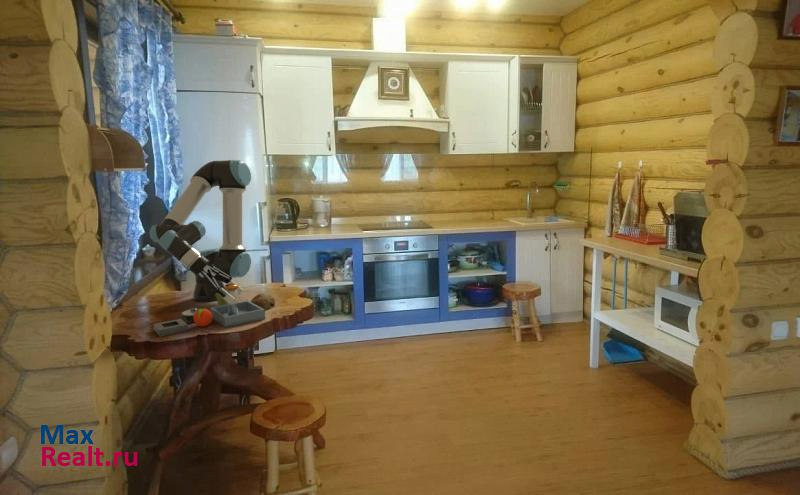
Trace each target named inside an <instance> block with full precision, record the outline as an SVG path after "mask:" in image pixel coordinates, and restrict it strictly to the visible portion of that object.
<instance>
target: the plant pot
mask: <svg viewBox="0 0 800 495" xmlns="http://www.w3.org/2000/svg"><path fill="white" fill-rule="evenodd" d="M223 289H224V290H225V291H227V289H226V288H223ZM215 295H216V298H217V300H216V301H217V306H222V305H227V301H226V300H224V299H223V298H222V297H221V296H220V295H218V294H217V293H216V294H215Z"/></svg>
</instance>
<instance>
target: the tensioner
mask: <svg viewBox="0 0 800 495" xmlns="http://www.w3.org/2000/svg"><path fill="white" fill-rule="evenodd" d="M199 309H201V307H200V308H197V307H192V308H190V309H186V310H184V311H182V312H181V317H182V318H183V319H181V318H178V319H177V318H176V319H172V320H167V321H162V322H158V323H156V322H155V323H153V331H154V332H155V333H156V334H157V335H158V336H159V337H160V338H161V337H167V336H170V335H174V334H181V333H184V332H185V333H186V332H188V331H189V325H188V324H190V323H192V322H194V319H193V318H194V314H195V313H196V311H198V310H199Z"/></svg>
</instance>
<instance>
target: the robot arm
mask: <svg viewBox="0 0 800 495" xmlns="http://www.w3.org/2000/svg"><path fill="white" fill-rule="evenodd" d="M251 181H252V173H251V170H250V168H249V166H248V164H247V163H246V162H244V161H243V160H239V159H231V160H229V159H228V160H212V161H209V162H207V163H206V164H203V165H202V166H201V167H200V168H199V169H198V170H196V171H195V173H194V174H193V175H192V177H191V178H190V180H189V182H190V183H189V185H188V186H187V188H185V190H184V192H182V194H181V196H180V197H179V198H178V199H177V201H176V202H175V204H174V205H173V206H172V208H171V209H170V211H169V212H168V213H167V215H166V216H165V218H164V219H163V220H162V221H161V223H160V224H159V223H158V224H154V225H152V226H151V227H150V229H149V237H150V239H151V240H152V241H153V242H155V243H158V244H159V246H161V247H162V248H163V250H165V251H166V252H167V253H168V254H170V255H171V256H172V257H173V258H175V259H176V260H177V261H178V262H179V263H181V265H182V266H184V267H186V269H189V271H190V272H191V273H192V274H194V278H195V286H194V289H193V294H192V297H193V301H195V302H213V301H217V298H216V295H215V294H216V293H217V294H218V295H220V296H221V297H222V298H223V299H224V300H226V301H227V302H228V303H229V304H230V303H231V302H232V301H233V300H234V299H235V298H234V297H232V296H231V295H230V294H229V293H228V292H227V291H225V290H224V289H223V288H225V285H227V284H237V283H236V281H235V282H234V281H233V279H235V278H242V277H245V276H246V275H248V272H249V271H250V269H251V266H252V258H251V255H250V254H249V253H248V252H247V250H246V247H245V246H244V245H243V194H244V192H245V191H247V190H246V189H247V188H246V186H248V185H250V183H251ZM216 187H218V189H219V191H220V192H221V193H222V245H221V246H220V247H219V248H218V247H217V248H209V249H203V250H197V249H196V248H195V247H194V246H193V245H194V244H196V243H197V242H198V241H200V240H201V239H202V238H203V237H204V236H205V235H206V233H207V232H206V227H205V225H204V224H203V223H202V222H200V221H198V220H194V221H191V222H189V223H188V224H185V223H186V222H187V220H188V219H189V218H190V216H191V214H192V213H193V212H194V210H195V209H196V207H198V206H197V205H199V203H200V201H201V200H202V199H203V197H204V196H205V194H206V193H209V192H210V191H211V190H212V189H213V188H216ZM243 291H244V289H243V288H242V287H241V286H239V287H238V288H237V296H240V294H241V293H242V292H243Z"/></svg>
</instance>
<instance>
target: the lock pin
mask: <svg viewBox="0 0 800 495" xmlns="http://www.w3.org/2000/svg"><path fill="white" fill-rule="evenodd" d="M224 286H225V288H226V289H227V292H228V293H229V294H230V295H231V296H232V297H234V298H235V299H234V300H233V301H232V302H231V303H230V304H229V303H228V302H227V306H228V316H231V315H236V314H238V302H239V300H238V296H239V295H238V294H237V288H238V287H240V286H239V283H236V284H224Z"/></svg>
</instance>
